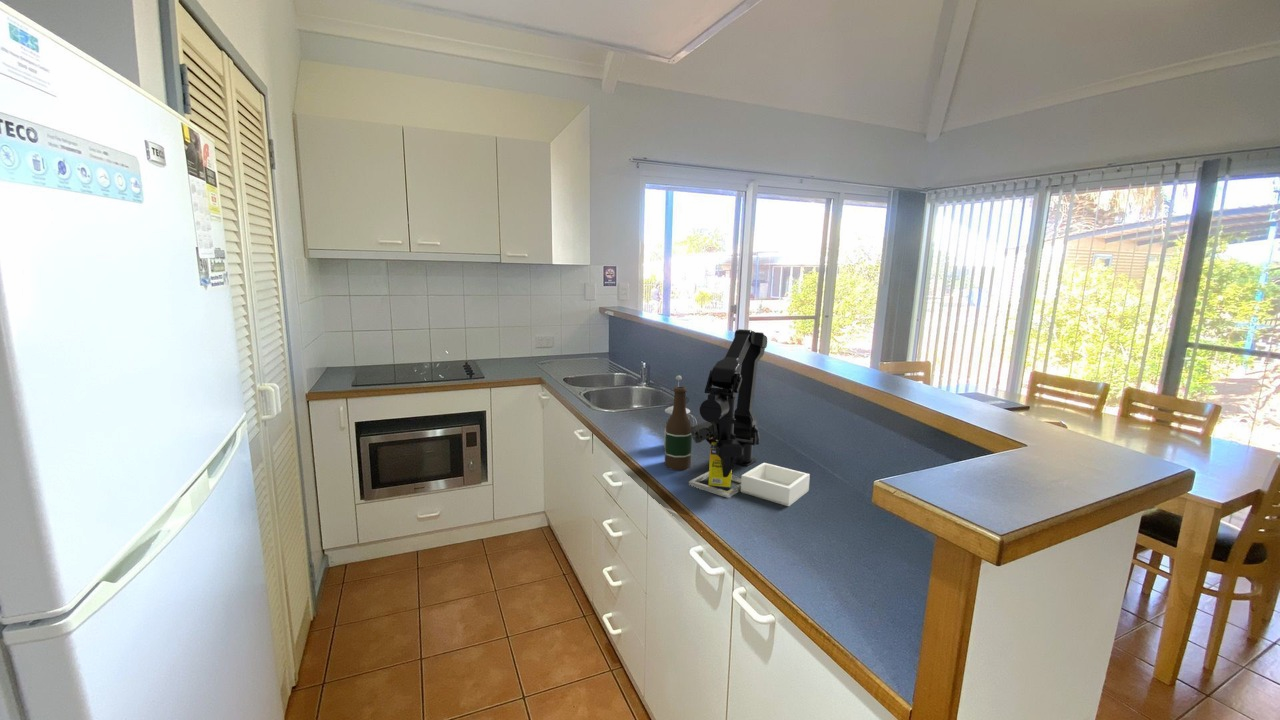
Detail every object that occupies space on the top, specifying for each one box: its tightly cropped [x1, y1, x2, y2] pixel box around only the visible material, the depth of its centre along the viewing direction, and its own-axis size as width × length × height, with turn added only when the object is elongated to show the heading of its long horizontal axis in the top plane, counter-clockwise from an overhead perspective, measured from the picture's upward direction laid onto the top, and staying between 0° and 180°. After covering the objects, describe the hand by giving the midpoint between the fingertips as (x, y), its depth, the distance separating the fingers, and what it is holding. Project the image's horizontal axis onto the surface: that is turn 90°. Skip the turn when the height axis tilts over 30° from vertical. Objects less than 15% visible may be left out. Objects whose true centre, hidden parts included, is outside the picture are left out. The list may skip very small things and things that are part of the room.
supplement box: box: [707, 442, 733, 491], centre depth 136 cm, size 6×6×11 cm
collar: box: [688, 470, 742, 499], centre depth 136 cm, size 12×12×1 cm
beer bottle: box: [664, 386, 693, 471], centre depth 147 cm, size 8×8×24 cm
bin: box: [740, 462, 811, 507], centre depth 133 cm, size 13×13×5 cm
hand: (720, 470), depth 136 cm, fingers open, 9 cm apart
